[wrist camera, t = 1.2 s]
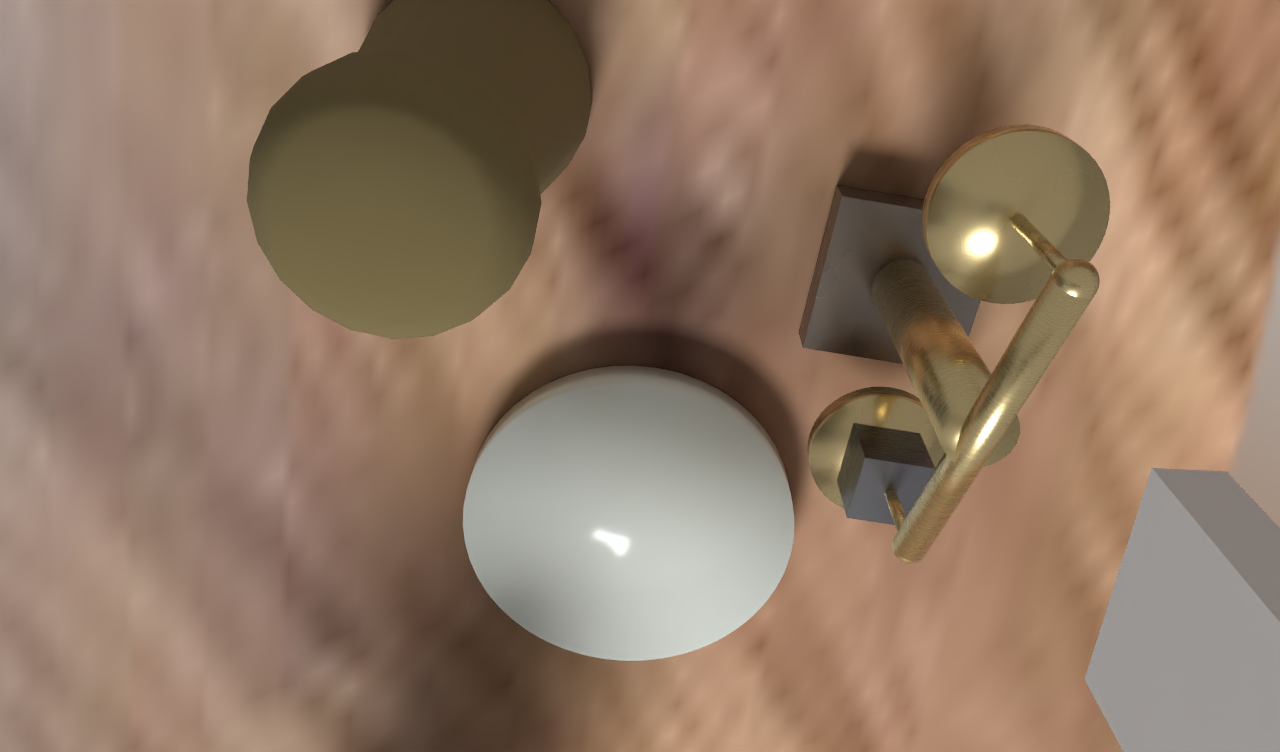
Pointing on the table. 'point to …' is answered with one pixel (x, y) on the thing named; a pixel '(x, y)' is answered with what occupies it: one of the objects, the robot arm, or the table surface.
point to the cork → (420, 163)
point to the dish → (629, 513)
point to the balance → (947, 320)
